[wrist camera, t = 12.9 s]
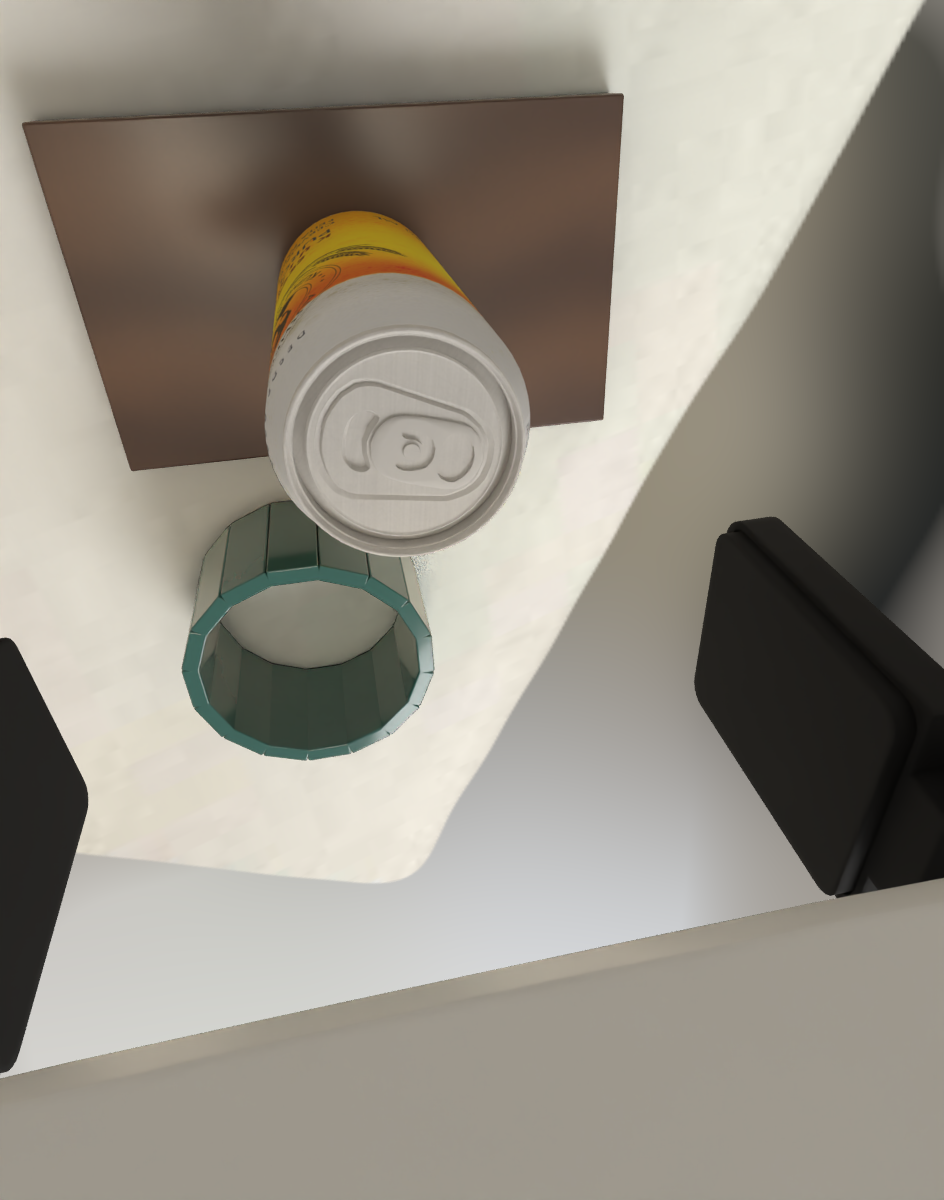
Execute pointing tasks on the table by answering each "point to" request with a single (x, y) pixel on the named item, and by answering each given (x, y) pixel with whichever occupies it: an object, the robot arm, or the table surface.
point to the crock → (293, 695)
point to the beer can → (388, 392)
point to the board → (298, 200)
